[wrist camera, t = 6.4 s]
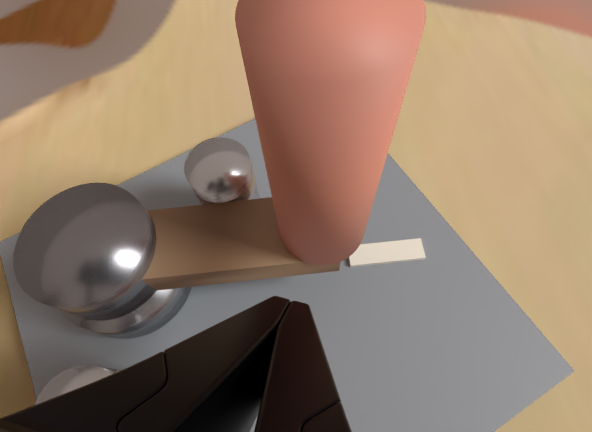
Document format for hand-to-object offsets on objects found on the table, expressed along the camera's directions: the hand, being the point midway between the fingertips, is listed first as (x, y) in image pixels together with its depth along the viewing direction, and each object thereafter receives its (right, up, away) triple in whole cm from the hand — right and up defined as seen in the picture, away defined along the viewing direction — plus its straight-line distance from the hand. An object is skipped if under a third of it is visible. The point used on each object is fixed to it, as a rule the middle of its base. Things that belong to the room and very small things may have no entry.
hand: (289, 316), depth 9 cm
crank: (-3, +1, +6) cm, 7 cm away
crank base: (-1, -2, +8) cm, 9 cm away
